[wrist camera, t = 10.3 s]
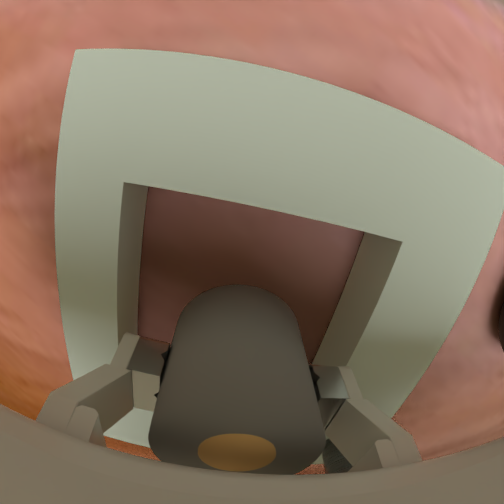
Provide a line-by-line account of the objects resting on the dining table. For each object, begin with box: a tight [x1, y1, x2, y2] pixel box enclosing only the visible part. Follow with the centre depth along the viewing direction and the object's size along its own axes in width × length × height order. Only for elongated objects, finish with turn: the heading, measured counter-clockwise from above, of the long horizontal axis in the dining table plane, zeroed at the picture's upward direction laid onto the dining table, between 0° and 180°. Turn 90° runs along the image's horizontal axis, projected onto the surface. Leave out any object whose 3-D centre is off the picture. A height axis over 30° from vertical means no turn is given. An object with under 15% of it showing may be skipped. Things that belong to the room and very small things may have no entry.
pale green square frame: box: [55, 49, 504, 464], centre depth 12 cm, size 16×18×3 cm
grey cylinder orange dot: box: [148, 285, 326, 475], centre depth 9 cm, size 5×5×5 cm
